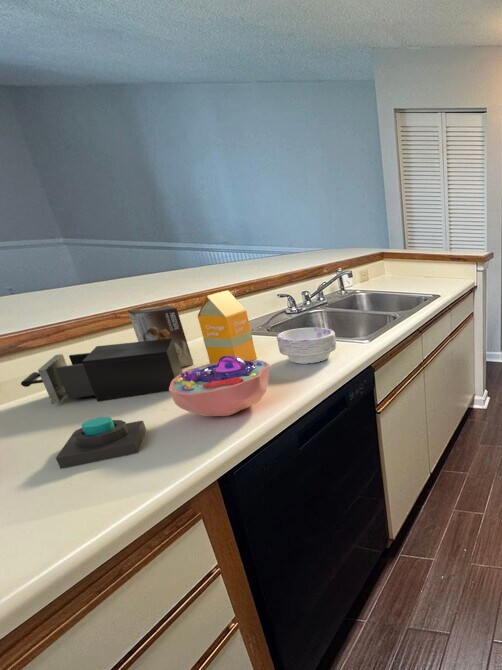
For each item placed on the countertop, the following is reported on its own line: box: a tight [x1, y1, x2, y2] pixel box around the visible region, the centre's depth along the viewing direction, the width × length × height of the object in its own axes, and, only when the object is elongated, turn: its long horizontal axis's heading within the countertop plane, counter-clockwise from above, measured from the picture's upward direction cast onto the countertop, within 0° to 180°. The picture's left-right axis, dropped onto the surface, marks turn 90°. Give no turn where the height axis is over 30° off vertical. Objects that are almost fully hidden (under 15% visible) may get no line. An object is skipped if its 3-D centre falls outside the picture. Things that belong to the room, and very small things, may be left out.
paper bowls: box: [276, 327, 337, 365], centre depth 122 cm, size 15×15×8 cm
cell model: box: [168, 355, 270, 417], centre depth 90 cm, size 17×20×11 cm
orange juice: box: [197, 289, 258, 364], centre depth 116 cm, size 8×9×20 cm
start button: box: [80, 416, 115, 435], centre depth 75 cm, size 4×4×2 cm
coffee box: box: [127, 304, 194, 368], centre depth 113 cm, size 9×6×16 cm
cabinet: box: [82, 338, 184, 402], centre depth 101 cm, size 15×13×10 cm
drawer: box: [20, 352, 95, 404], centre depth 96 cm, size 18×11×8 cm, turn 122°
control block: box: [55, 419, 147, 470], centre depth 76 cm, size 10×10×4 cm
